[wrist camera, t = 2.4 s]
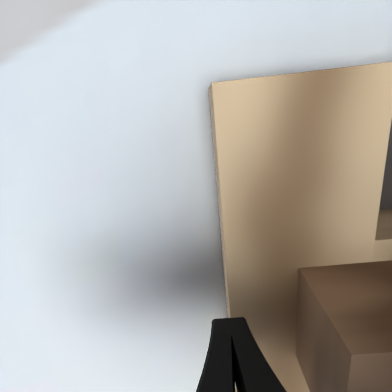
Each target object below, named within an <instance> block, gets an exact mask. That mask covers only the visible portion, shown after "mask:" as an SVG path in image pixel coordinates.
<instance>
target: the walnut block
mask: <svg viewBox="0 0 392 392" xmlns="http://www.w3.org/2000/svg"><path fill="white" fill-rule="evenodd" d="M296 357H297V359H298V362H299V365H300V367H301V370H302V372H303V375H304V378H305V380H306V383H307V385H308V388H309V390H310V392H392V260H388V261H376V262H364V263H352V264H341V265H329V266H317V267H305V268H299V270H298V305H297V339H296Z"/></svg>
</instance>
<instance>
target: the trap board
mask: <svg viewBox="0 0 392 392" xmlns="http://www.w3.org/2000/svg"><path fill="white" fill-rule="evenodd" d="M209 99H210V111H211V123H212V135H213V147H214V159H215V171H216V183H217V195H218V207H219V219H220V231H221V243H222V255H223V267H224V279H225V291H226V303H227V315H228V318H236V317H244V318H245V319H246V321H247V324H248V326H249V329H250V331H251V333H252V335H253V337H254V339H255V341H256V343H257V345H258V347H259V348H260V350H261V352H262V354H263V355H264V357H265V359H266V360H267V362H268V364H269V365H270V367H271V369H272V370H273V372H274V373H275V375H276V376H277V378H278V379H279V381H280V382H281V384H282V385H283V387H284V388H285V390H286V391H287V392H310V390H309V388H308V385H307V383H306V380H305V378H304V375H303V372H302V370H301V367H300V365H299V362H298V359H297V357H296V339H297V305H298V270H299V268H305V267H317V266H329V265H341V264H352V263H364V262H376V261H388V260H392V62H386V63H377V64H369V65H360V66H351V67H343V68H334V69H326V70H317V71H308V72H300V73H291V74H283V75H274V76H265V77H257V78H248V79H240V80H231V81H222V82H214V83H211V85H210V87H209ZM235 392H237V389H236V384H235Z"/></svg>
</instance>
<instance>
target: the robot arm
mask: <svg viewBox="0 0 392 392" xmlns="http://www.w3.org/2000/svg"><path fill="white" fill-rule="evenodd" d="M235 384H236V389H237V392H287V391H286V390H285V388H284V387H283V385H282V384H281V382H280V381H279V379H278V378H277V376H276V375H275V373H274V372H273V370H272V369H271V367H270V365H269V364H268V362H267V360H266V359H265V357H264V355H263V354H262V352H261V350H260V348H259V347H258V345H257V343H256V341H255V339H254V337H253V335H252V333H251V331H250V329H249V326H248V324H247V321H246V319H245V318H244V317H236V318H223V319H214V320H213V321H212V329H211V337H210V343H209V348H208V352H207V356H206V360H205V364H204V368H203V371H202V375H201V378H200V381H199V384H198V387H197V390H196V392H235Z"/></svg>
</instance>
